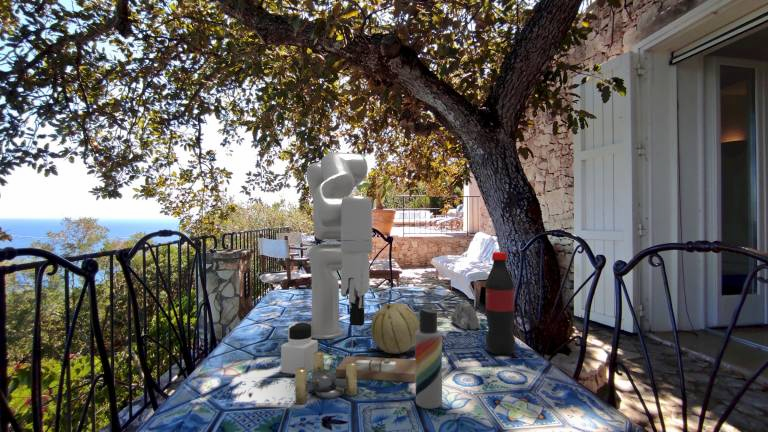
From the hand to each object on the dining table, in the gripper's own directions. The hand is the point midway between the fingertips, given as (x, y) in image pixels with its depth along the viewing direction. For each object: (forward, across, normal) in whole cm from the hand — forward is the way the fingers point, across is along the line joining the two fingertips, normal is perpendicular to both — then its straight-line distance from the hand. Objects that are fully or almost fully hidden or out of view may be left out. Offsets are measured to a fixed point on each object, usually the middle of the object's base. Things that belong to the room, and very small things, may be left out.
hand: (357, 324), depth 93 cm
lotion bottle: (+15, +6, +17) cm, 24 cm away
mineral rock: (+14, -61, +27) cm, 68 cm away
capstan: (+14, +4, -5) cm, 16 cm away
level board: (+14, -10, +3) cm, 18 cm away
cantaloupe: (+14, -26, +5) cm, 30 cm away
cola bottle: (+14, -31, +36) cm, 50 cm away
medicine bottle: (+14, -8, -18) cm, 24 cm away
